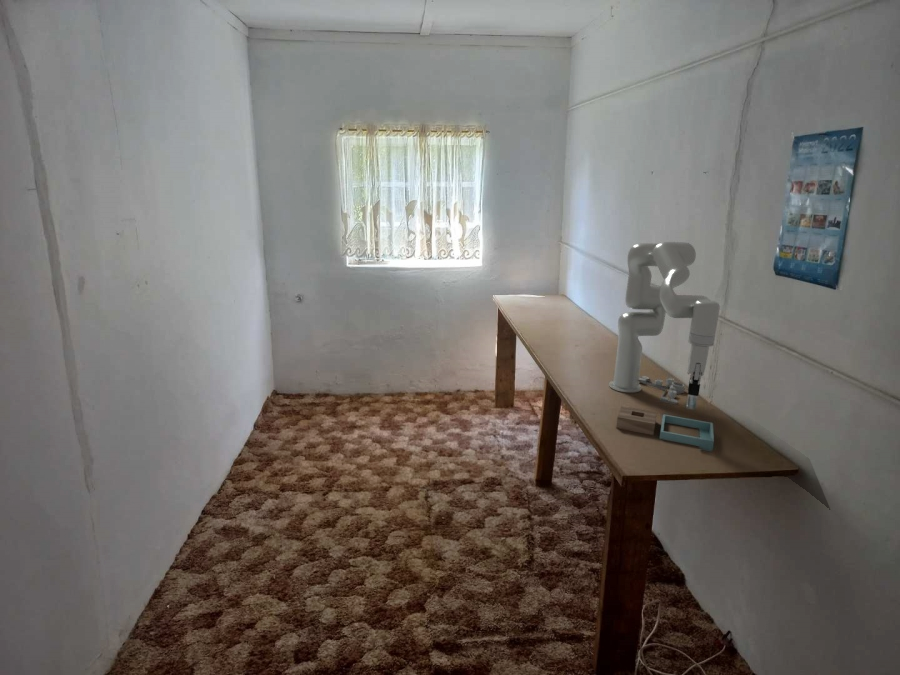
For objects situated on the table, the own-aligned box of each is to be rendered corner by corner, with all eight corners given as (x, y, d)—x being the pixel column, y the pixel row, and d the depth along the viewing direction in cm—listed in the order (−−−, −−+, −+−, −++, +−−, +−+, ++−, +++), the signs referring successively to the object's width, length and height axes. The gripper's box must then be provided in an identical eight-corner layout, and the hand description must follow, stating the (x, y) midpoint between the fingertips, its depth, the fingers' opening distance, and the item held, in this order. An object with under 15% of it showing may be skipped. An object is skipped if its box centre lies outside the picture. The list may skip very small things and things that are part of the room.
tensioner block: (620, 418, 208) (621, 404, 206) (655, 424, 203) (657, 411, 202) (615, 430, 197) (617, 416, 196) (653, 437, 193) (655, 423, 191)
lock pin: (685, 405, 193) (690, 373, 191) (696, 406, 192) (701, 375, 189) (685, 408, 191) (690, 376, 188) (696, 410, 189) (701, 378, 187)
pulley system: (666, 381, 251) (633, 380, 249) (668, 371, 250) (635, 369, 247) (700, 408, 225) (664, 407, 223) (703, 397, 224) (666, 395, 222)
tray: (661, 423, 204) (663, 414, 204) (711, 432, 199) (712, 422, 198) (659, 441, 190) (660, 431, 189) (712, 451, 184) (713, 441, 184)
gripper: (689, 331, 194) (681, 384, 199) (688, 343, 179) (680, 399, 184) (713, 334, 191) (705, 387, 196) (715, 346, 177) (705, 403, 181)
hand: (693, 392), depth 190 cm, fingers closed on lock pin, 3 cm apart
